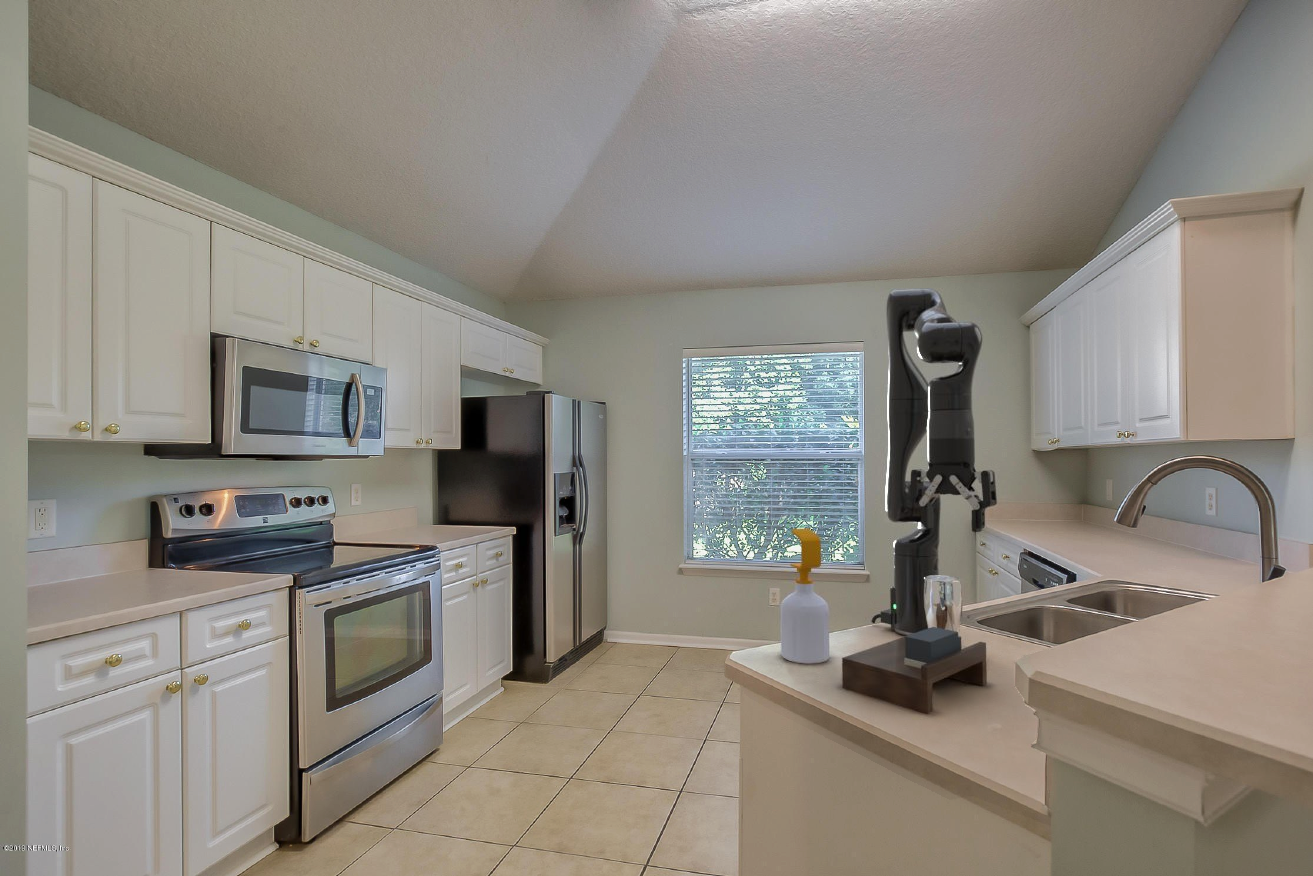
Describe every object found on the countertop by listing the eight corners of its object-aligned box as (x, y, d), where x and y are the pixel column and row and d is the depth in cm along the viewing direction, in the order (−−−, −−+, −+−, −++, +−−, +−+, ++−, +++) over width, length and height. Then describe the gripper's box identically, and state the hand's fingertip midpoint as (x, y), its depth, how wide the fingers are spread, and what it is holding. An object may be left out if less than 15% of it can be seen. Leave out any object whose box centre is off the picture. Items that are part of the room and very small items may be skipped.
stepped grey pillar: (931, 671, 104) (930, 642, 104) (904, 664, 107) (903, 636, 107) (963, 657, 111) (963, 630, 111) (937, 651, 114) (937, 625, 114)
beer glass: (944, 663, 123) (943, 582, 124) (916, 653, 130) (915, 576, 130) (971, 658, 126) (970, 579, 127) (942, 649, 133) (941, 573, 133)
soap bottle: (812, 648, 133) (811, 526, 134) (838, 661, 125) (837, 531, 125) (772, 653, 130) (771, 528, 131) (796, 666, 122) (795, 533, 123)
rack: (842, 687, 111) (841, 645, 111) (904, 663, 124) (904, 625, 124) (927, 714, 99) (927, 667, 99) (986, 684, 112) (986, 642, 112)
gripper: (1002, 436, 112) (1004, 531, 112) (922, 437, 123) (924, 525, 123) (982, 435, 108) (984, 535, 107) (901, 437, 118) (902, 528, 118)
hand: (952, 529), depth 115 cm, fingers open, 8 cm apart
